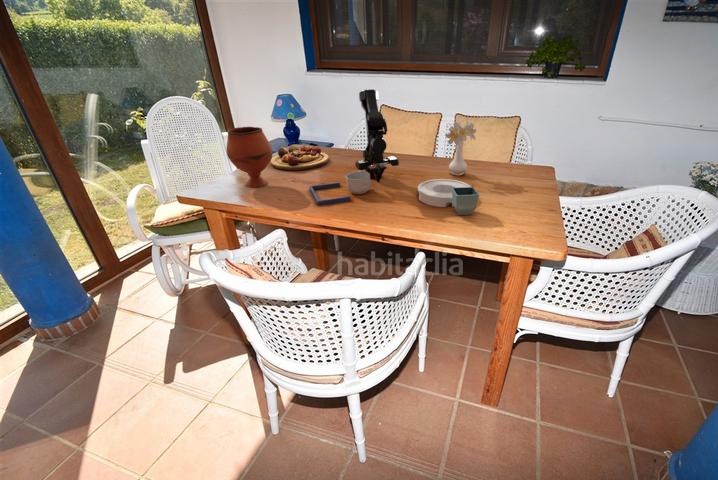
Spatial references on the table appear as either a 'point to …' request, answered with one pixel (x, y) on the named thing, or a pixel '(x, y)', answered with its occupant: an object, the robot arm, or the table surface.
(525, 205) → the table surface
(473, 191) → the flower pot
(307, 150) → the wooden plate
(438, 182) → the ashtray
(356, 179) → the teacup
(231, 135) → the goblet
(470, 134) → the flower vase
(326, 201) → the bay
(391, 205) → the table surface
